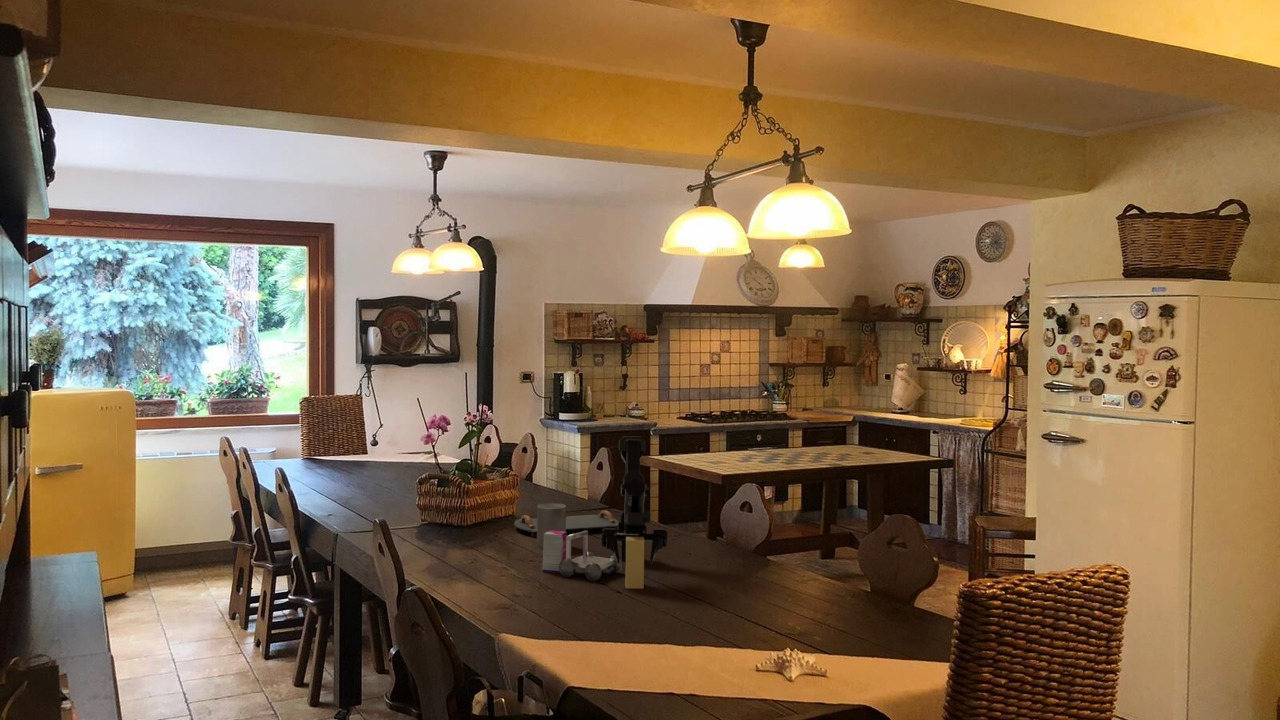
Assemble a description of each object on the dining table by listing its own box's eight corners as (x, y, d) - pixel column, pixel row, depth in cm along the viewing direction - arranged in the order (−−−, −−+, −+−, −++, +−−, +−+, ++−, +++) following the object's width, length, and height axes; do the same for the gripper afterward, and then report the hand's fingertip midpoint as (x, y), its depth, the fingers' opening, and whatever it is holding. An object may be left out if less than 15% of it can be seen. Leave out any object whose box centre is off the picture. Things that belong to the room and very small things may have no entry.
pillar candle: (540, 542, 326) (540, 498, 326) (568, 543, 325) (568, 499, 325) (534, 549, 316) (534, 504, 316) (563, 550, 315) (563, 504, 315)
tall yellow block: (625, 583, 272) (626, 536, 272) (642, 583, 273) (643, 536, 272) (625, 588, 267) (626, 540, 267) (643, 588, 268) (644, 540, 267)
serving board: (525, 540, 332) (525, 522, 332) (507, 527, 353) (507, 511, 353) (627, 532, 348) (628, 515, 348) (604, 521, 369) (604, 505, 369)
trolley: (583, 566, 292) (583, 528, 292) (622, 573, 285) (623, 533, 285) (558, 575, 280) (559, 536, 280) (599, 582, 274) (599, 541, 273)
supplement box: (561, 573, 284) (561, 534, 284) (541, 571, 285) (542, 533, 285) (566, 568, 290) (567, 530, 289) (547, 567, 291) (548, 529, 290)
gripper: (602, 500, 273) (601, 547, 262) (667, 500, 274) (669, 547, 263) (602, 522, 281) (601, 568, 270) (665, 523, 282) (667, 569, 271)
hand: (634, 563), depth 269 cm, fingers open, 9 cm apart
